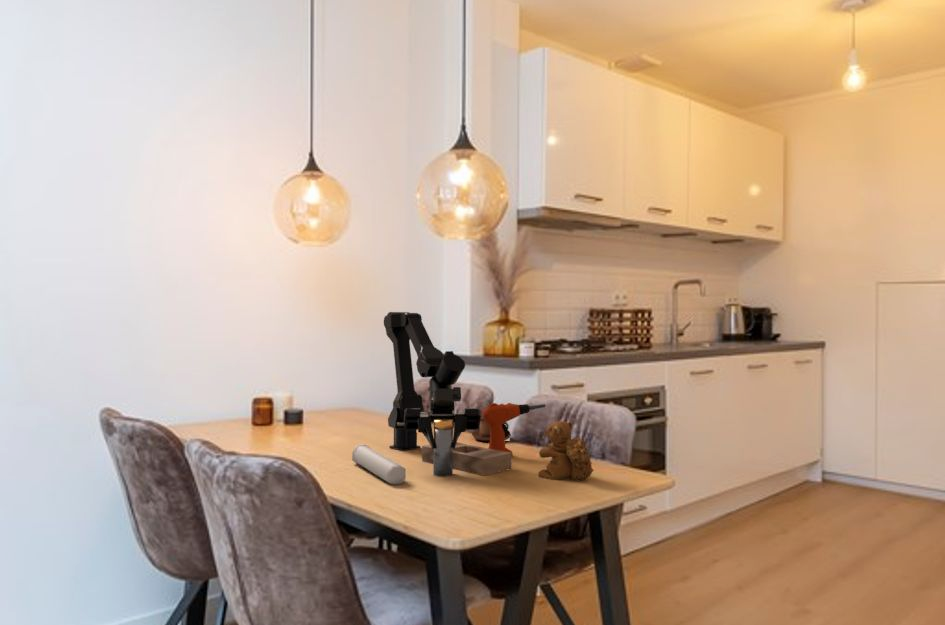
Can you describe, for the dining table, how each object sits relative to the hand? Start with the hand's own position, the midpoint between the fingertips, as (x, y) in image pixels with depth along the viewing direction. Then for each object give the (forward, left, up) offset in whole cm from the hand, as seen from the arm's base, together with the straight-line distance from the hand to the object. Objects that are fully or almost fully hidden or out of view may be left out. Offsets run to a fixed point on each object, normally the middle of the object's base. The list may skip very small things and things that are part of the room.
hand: (443, 447), depth 164 cm
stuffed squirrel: (+22, +20, -7) cm, 30 cm away
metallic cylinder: (-1, +1, -7) cm, 7 cm away
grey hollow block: (-4, +12, -7) cm, 14 cm away
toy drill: (-3, +30, -7) cm, 31 cm away
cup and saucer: (-23, +43, -7) cm, 49 cm away
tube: (-12, -10, -7) cm, 17 cm away
